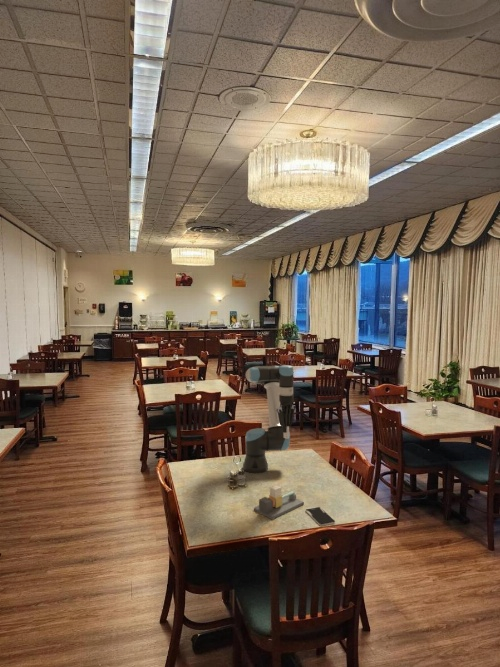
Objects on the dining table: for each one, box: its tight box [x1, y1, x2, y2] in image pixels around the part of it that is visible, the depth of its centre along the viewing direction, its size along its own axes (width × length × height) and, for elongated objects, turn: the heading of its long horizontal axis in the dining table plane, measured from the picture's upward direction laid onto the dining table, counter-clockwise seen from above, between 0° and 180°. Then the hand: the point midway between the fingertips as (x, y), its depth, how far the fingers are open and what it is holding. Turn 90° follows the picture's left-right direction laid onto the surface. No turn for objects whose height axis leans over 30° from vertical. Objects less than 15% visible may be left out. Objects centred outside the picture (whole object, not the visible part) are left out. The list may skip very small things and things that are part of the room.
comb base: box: [253, 490, 305, 520], centre depth 198 cm, size 12×22×6 cm, turn 132°
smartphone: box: [305, 506, 336, 527], centre depth 188 cm, size 8×1×15 cm
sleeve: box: [268, 484, 282, 508], centre depth 196 cm, size 5×4×9 cm
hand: (286, 438), depth 220 cm, fingers closed
